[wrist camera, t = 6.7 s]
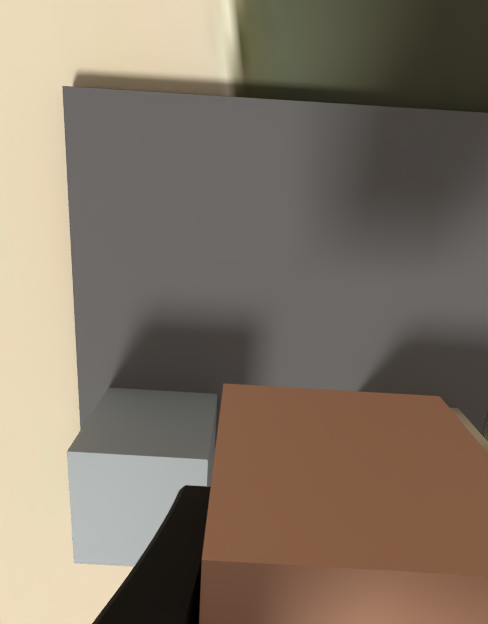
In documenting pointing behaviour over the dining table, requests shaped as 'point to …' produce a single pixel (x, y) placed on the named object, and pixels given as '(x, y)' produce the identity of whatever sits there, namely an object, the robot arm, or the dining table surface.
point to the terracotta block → (344, 511)
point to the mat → (277, 246)
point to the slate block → (136, 468)
